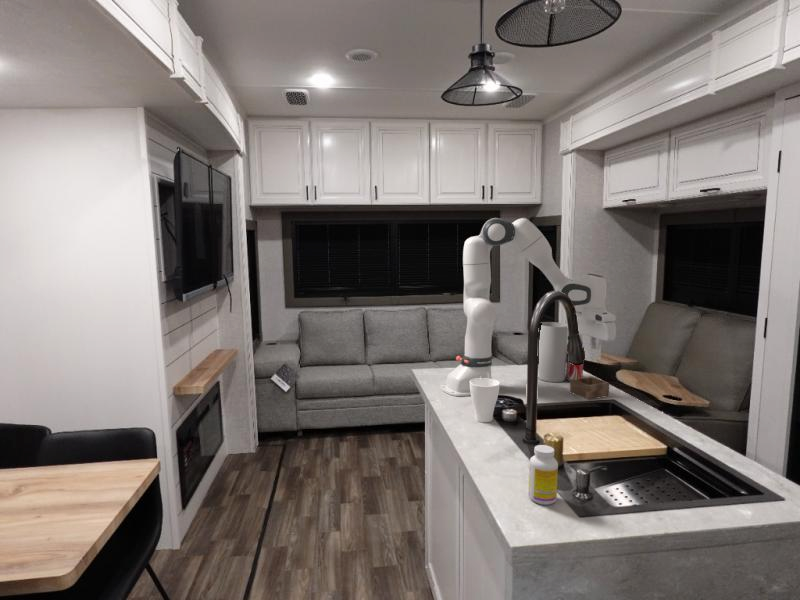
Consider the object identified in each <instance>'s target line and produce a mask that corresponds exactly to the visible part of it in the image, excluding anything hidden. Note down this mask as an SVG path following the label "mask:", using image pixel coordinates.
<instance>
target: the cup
mask: <svg viewBox="0 0 800 600" xmlns="http://www.w3.org/2000/svg"><path fill="white" fill-rule="evenodd" d="M469 383H470V393H471V396H470V398H471V402H472V406H473V411H474V420H475V421H477V422H478V423H490V422H492V421H493V417H494V411H495V407H496V403H497V401H498V398H499V397H498V396H499V392H500V385H501V383H500V381H498V380H497V379H494V378H492V379H489V378H476V379H472V380H470V381H469Z"/></svg>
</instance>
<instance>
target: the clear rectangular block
mask: <svg viewBox="0 0 800 600" xmlns="http://www.w3.org/2000/svg"><path fill="white" fill-rule="evenodd" d="M596 343H597V341H596V338H593V336H590V335H586V334H583V339H582V348H583V347H584V351H585V359H584V360H585V361H588V362H591V361H598V360H601V359H602V357H601V356H602V344H601V345H600V349H599V350H596V349H594V345H596Z"/></svg>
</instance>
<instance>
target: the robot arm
mask: <svg viewBox="0 0 800 600" xmlns="http://www.w3.org/2000/svg"><path fill="white" fill-rule="evenodd" d="M509 242H510V243H511V244H513V245H514V246H515V247H516V249H518V251H519V252H520V253H521V254H522V256H524V258H525V259H526V260H527V261H528V262H530V263H531V264H532V265H534V266H535V267H536V268H538V269H539V270H540V271H541V273H542V274H543V275H544V276H545V278H546V279H547V280H548V281H549V283H550V284H551V286H552V288H553V291H560V292H563V293H565V294H566V295H567V296H569V298H570V299H571V301H572V303H573V305H574V306H573V307H576V306H581V311H579V310H577V311H576V312H575V313H576V315H577V322H578V331H579V334H578V335H581V339H582V340H583V334H586V335H590V336H593V338H596V341H597V343H596V345H594V349H596V350H599V349H600V345H601V346H602V343H603V341H605V342H613V341H614V340H615V339H616V336H617V335H616V333H617V327H616V323H615V321H616V320H617V319H616V318H617V316H616V315H615V314H613V313H611V312H610V311H608V310H607V307H606V299H607V281H606V278H605V277H604V276H603V275H599V274H594V273H586V274H584V275H583V276H581V277H579V278H576V279H574V280H572V279H571V278H568V277H567V276H566V275H565V274H564V273H563V271H562V270H561V269H560V268H559V267H558V265H557V264H556V262H555V260H554V258H553V252H552V250H553V249H552V246H551V245H550V243H549V241H548V240H547V238H546V236H544V234H543V233H542V232H541V230H540V229H538V227H537V226H536V225H535V224H534V223H533V222H531V221H530V220H529V219H528V218H526V217H521V218H518V219H516V220H514V221H512V222H509V221H507V220H504V219H503V218H498V217H493V218H490V219H488V220H487V221H485V223H484V224H483V225H482V228H481V229H480V232H479V235H475V236H470V237H468V238H467V239H466V240H465V241H464V245H463V250H462V267H463V312H464V315H465V316H466V317H467V319H466V320H467V321H466V328H465V329H466V330H465V335H464V354H463V356H460V355H457V356H456V358H455V360H456V361H458V362H460V364H458V366H456V368H454V369H453V370H452V371H451V372H450V373H448V375H447V378H446V382H445V384H441V385H440V390H441V391H442V392H444V393H446V394H448V395H451V396H453V397H467V396H469V397H471V393H470V383H469V381H470V380H472V379H476V378H489V379H493V377H492V365H493V356H492V339H493V338H492V337H493V331H494V326H495V320H496V319H495V318H496V316H497V315H496V313H497V312H496V308H495V305H494V303H493V302H491V300H490V295H491V294H490V291H491V284H492V276H491V275H492V271H491V251H492V248H493V247H497V246H502V245H504V244H507V243H509Z"/></svg>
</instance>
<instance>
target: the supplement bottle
mask: <svg viewBox="0 0 800 600" xmlns="http://www.w3.org/2000/svg"><path fill="white" fill-rule="evenodd" d="M533 452H534V455H533V456H531V457H530V458H529V469H528V470H529V474H528V497H529V499H530V500H531V501H532V502H534V503H536V504H539V505H544V506H546V505H547V506H548V505H552V504H555V503H556V501H557V496H558V478H559V477H558V475H559V474H558V472H559V471H558V470H559V463H558V461H557V459H556V458H555V449H554V447H552V446H550V445H546V444H538V445H535V446H534V449H533Z"/></svg>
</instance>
